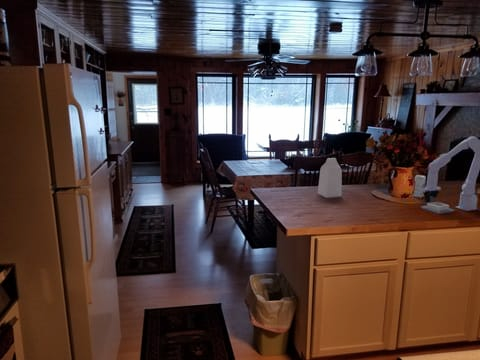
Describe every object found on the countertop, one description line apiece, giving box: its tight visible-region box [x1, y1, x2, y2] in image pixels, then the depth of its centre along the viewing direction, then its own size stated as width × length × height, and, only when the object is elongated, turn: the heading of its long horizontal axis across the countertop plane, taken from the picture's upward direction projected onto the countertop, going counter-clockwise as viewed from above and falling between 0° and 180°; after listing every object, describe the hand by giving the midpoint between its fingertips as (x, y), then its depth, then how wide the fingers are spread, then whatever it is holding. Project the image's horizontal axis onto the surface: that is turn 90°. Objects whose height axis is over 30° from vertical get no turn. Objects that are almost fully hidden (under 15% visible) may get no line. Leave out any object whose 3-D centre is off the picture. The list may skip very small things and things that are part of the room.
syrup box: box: [412, 174, 427, 199], centre depth 252 cm, size 6×6×14 cm
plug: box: [424, 196, 436, 206], centre depth 234 cm, size 4×4×5 cm
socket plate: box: [420, 201, 456, 215], centre depth 223 cm, size 13×13×4 cm
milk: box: [317, 157, 343, 199], centre depth 254 cm, size 12×12×26 cm
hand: (429, 202), depth 234 cm, fingers closed on plug, 4 cm apart
